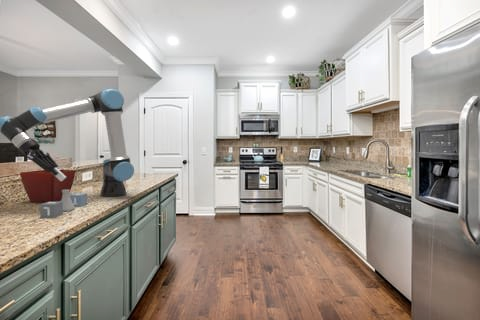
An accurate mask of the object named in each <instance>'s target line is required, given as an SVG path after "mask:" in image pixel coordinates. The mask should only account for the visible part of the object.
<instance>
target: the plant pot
mask: <svg viewBox="0 0 480 320" xmlns="http://www.w3.org/2000/svg"><path fill="white" fill-rule="evenodd" d="M59 170H60V171H61V172H62V173H63V174H64V175H65V176H66V178H65V179H64V180H63V181H60V180H59V179H58V178H57V177H55V176H54V175H53V174H52V173H51V172H49V173H48V172H47V171H48V170H47V171H45V170H44V169H41V170H31V171H20V172H19V175H20V179H21V182H22V185H23V188H24V191H25V192H26V195H27V197H28V199H29V200H30V202H32V203H46V202H60V201H61V199H62V195H63V192H62V190H70V191H69V194H71V193H70V192H71V190H72V187H73V183H74V182H75V181H74V180H75V176H76V169H59Z"/></svg>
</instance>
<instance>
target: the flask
mask: <svg viewBox="0 0 480 320" xmlns="http://www.w3.org/2000/svg"><path fill="white" fill-rule="evenodd" d="M69 191H70V192H71V190H62V192H63V195H62V199H61V200H60V202H63V212H70V211H74V210H76V207H74V205H73V203H72V200H71V198H70V195H71V193H69Z"/></svg>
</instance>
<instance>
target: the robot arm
mask: <svg viewBox="0 0 480 320" xmlns="http://www.w3.org/2000/svg"><path fill="white" fill-rule="evenodd" d="M124 104H125V98H124V95H123V94H122V93H121V92H120V91H119V90H117V89H115V88H106V89H104V90H103V91H99V92H98V93H96V94H93V95H91V96H86V98H85V99H81V100H76V101H72V102H67V103H64V104H63V103H62V104H60V105H54V106H49V107H45V108H41V107H39V106H34V107H31V108H29V109H28V110H26V111H23V112H22V113H20V114H19V115H16V116H15V117H11V116H9V115H4V116H2V117H0V133H1V134H2V135H3V136H4V137H5V138H6V139H8V140H9V141H10V142H11V143H12V144H13V145H14V147H15V148H17V149H19V151H20V152H21V153H22V154H24V155H25V156H26V158H27V159H29V160H31V162H33V163H34V164H36V165H37V166H39V167H40V168H41V170H45V171H47V170H48V171H47V172H48V173H49V172H51V173H52V174H53V175H54V176H55V177H57V178H58V179H59V180H60V181H63V180H64V179H65V178H66V176H65V175H64V174H63V173H62V172H61V171H60V170H61V169H58V167H59V165H58V163H57V162H55V160H54V159H53V158H52V157H51V155H50V153H49V152H44V151H43V150H42V149H40V146H41V145H40V143H39V142H37V140H35V139H34V138H33V137H32V136H31V135H30V134H29V133H28V132H27V131H29V130H31V129H32V128H34V127H36V126H39V125H43V124H47V123H48V124H49V123H51V122H55V121H59V120H64V119H68V118H71V117H75V116H80V115H83V114H88V113H91V114H95V113H101V115H103V116H104V118H105V125H106V132H107V139H108V145H109V151H110V158H106V159H104V160H103V161H102V172H103V173H102V180H103V181H102V182H103V183H102V186H101V189H100V194H99V195H100V197H105V198H106V197H107V198H108V197H109V198H110V197H113V198H114V197H120V196H121V197H122V196H125V195H127V189H126V186H125V184H124V182H126V181H129V180H130V179H131V178H132V177H133V176H134V173H135V168H134V165H133V164H132V163H131V157H130V156H129V155H127V149H126V142H125V136H124V131H123V130H124V129H123V121H122V116H121V115H122V114H123V113H124V109H123V106H124Z"/></svg>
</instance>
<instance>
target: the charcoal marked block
mask: <svg viewBox="0 0 480 320" xmlns="http://www.w3.org/2000/svg"><path fill="white" fill-rule="evenodd" d="M39 212H40V213H39V215H40V216H39V217H40V219H51V218H52V219H55V218H57V217H58V218H59V217H60V216H63V215H64V213H63V202H61V201H55V202H42V203H40V204H39Z"/></svg>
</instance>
